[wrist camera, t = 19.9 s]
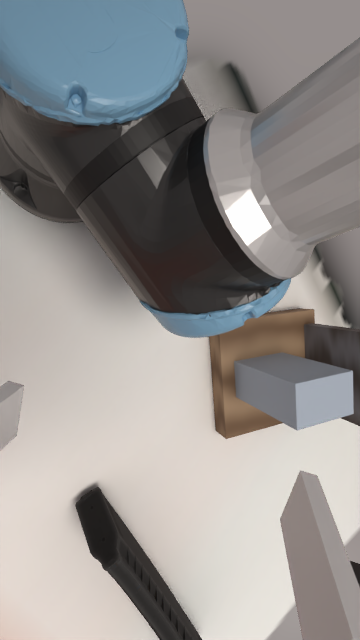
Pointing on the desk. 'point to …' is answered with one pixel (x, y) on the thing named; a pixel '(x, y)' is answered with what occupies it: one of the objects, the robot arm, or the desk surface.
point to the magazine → (132, 568)
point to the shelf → (270, 338)
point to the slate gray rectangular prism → (295, 389)
